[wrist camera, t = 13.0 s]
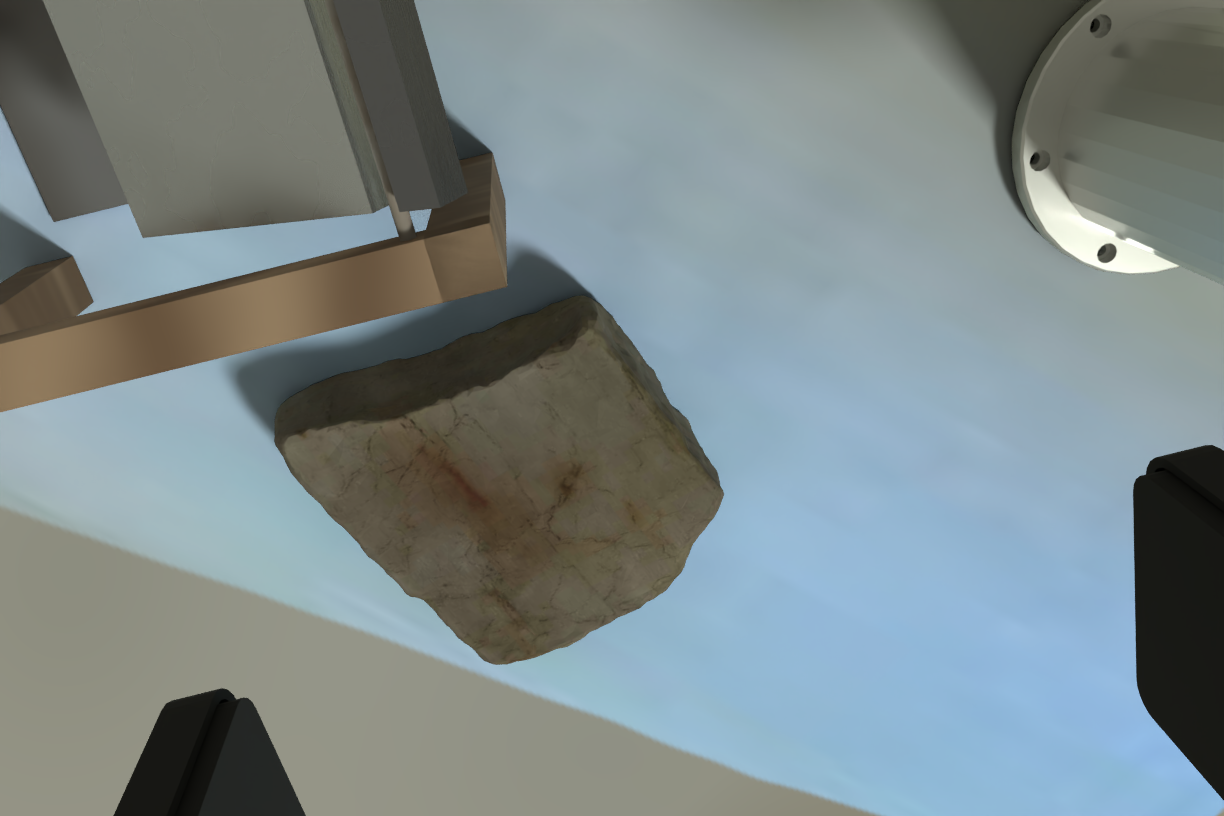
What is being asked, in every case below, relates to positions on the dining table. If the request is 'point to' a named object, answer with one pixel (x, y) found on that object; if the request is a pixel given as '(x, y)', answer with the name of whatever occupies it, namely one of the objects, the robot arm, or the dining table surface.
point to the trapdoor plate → (259, 108)
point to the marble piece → (511, 477)
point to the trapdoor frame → (216, 312)
